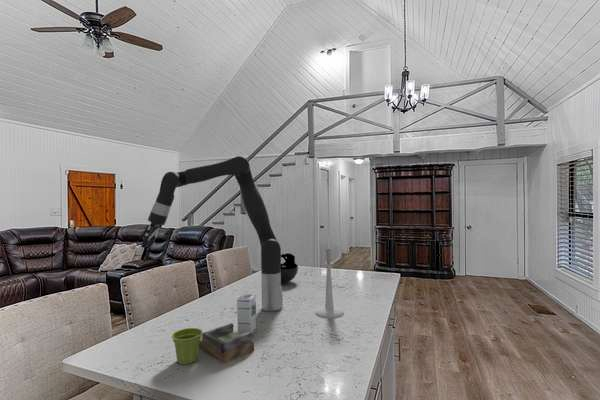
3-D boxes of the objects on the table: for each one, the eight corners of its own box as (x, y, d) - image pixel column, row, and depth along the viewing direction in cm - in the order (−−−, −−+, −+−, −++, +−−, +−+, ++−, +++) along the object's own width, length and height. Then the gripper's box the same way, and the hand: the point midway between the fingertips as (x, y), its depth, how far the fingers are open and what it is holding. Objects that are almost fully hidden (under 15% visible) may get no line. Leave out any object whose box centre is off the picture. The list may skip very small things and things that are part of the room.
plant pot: (176, 354, 107) (176, 328, 107) (205, 352, 107) (205, 327, 107) (167, 368, 97) (167, 340, 97) (198, 366, 98) (198, 338, 98)
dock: (221, 334, 122) (221, 318, 122) (254, 350, 108) (253, 332, 109) (192, 344, 113) (192, 328, 113) (224, 363, 100) (223, 344, 100)
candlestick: (347, 310, 147) (346, 246, 148) (338, 319, 136) (337, 250, 136) (321, 307, 153) (320, 244, 153) (311, 315, 141) (310, 248, 141)
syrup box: (251, 337, 119) (251, 298, 119) (237, 336, 120) (236, 298, 120) (256, 331, 125) (256, 294, 125) (242, 330, 126) (242, 293, 126)
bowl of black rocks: (297, 286, 190) (297, 255, 190) (264, 287, 190) (264, 255, 190) (298, 278, 210) (298, 250, 210) (268, 279, 210) (268, 250, 210)
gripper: (162, 216, 139) (149, 251, 138) (172, 215, 153) (159, 246, 153) (146, 210, 138) (132, 245, 138) (156, 210, 153) (144, 241, 152)
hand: (146, 246), depth 145 cm, fingers open, 8 cm apart
